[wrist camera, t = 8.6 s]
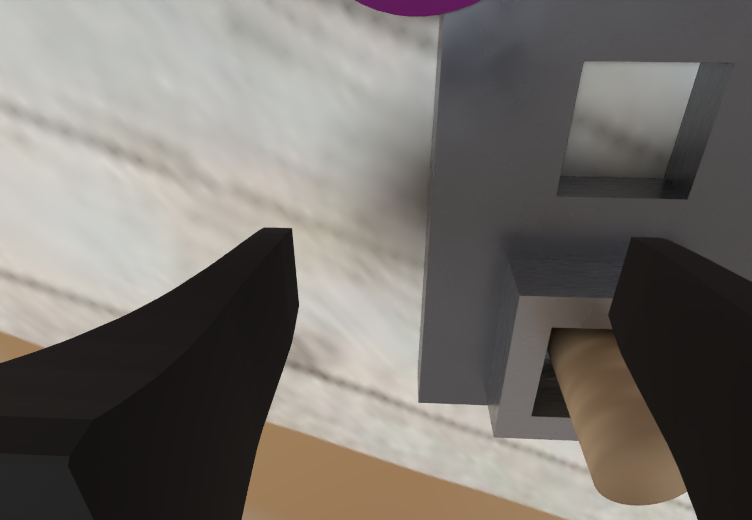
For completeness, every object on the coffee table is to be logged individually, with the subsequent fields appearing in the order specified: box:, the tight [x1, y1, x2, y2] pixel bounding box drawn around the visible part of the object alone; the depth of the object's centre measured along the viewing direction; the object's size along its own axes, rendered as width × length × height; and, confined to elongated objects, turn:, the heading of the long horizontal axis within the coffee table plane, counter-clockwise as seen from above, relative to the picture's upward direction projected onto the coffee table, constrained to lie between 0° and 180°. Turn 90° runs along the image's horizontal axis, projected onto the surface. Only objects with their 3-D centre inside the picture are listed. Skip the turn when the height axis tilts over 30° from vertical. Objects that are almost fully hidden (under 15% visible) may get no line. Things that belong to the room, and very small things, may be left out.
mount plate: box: [418, 0, 752, 441], centre depth 20 cm, size 14×18×4 cm
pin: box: [547, 327, 687, 505], centre depth 20 cm, size 3×3×9 cm
